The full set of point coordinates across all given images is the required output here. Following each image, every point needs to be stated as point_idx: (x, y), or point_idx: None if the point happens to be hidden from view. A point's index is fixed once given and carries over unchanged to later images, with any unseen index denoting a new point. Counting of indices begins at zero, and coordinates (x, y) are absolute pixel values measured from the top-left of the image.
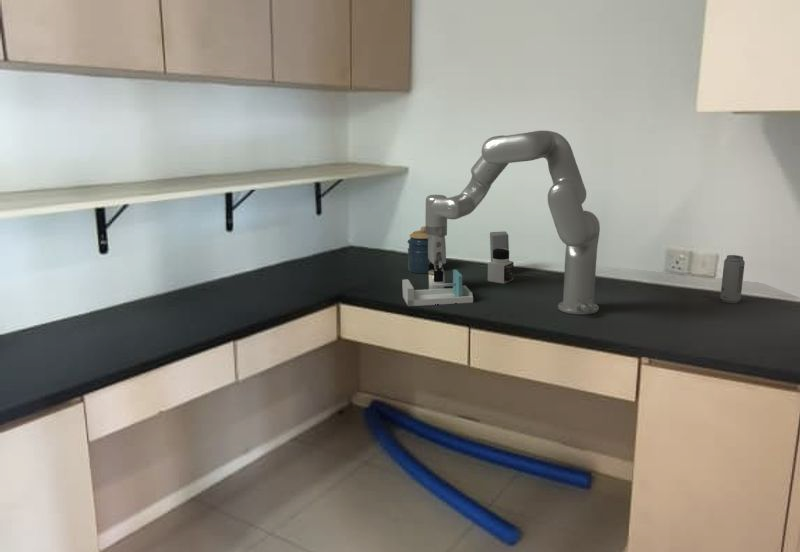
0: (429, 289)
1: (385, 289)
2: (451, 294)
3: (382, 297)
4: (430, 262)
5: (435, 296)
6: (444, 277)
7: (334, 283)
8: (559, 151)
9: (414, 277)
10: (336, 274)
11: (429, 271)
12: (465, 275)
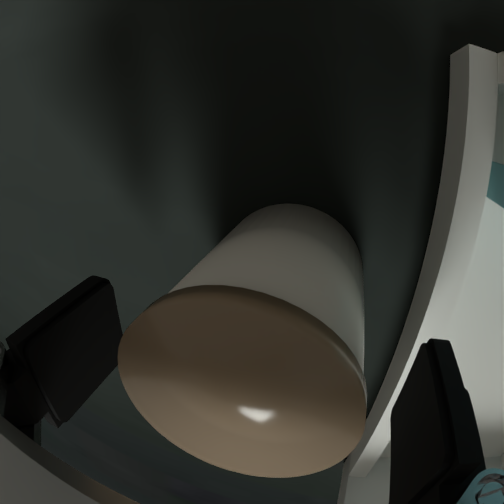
0: (397, 394)
1: (197, 460)
2: (495, 214)
3: (319, 500)
4: (37, 429)
5: (475, 350)
6: (307, 276)
7: (124, 486)
8: None
9: (13, 280)
10: (48, 438)
11: (219, 461)
12: (2, 10)
